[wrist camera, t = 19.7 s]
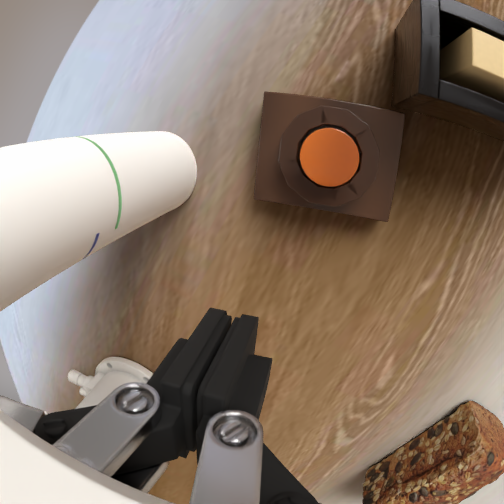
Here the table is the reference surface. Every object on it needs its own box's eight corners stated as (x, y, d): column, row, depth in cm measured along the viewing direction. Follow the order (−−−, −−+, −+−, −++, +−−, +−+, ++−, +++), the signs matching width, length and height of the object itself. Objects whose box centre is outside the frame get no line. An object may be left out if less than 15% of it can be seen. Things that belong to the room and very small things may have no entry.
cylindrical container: (115, 177, 28) (-140, 283, 5) (154, 115, 25) (-161, 158, 2) (166, 226, 28) (-82, 409, 5) (213, 166, 25) (-132, 322, 2)
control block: (259, 194, 25) (247, 204, 22) (269, 95, 22) (258, 87, 19) (383, 215, 23) (392, 229, 20) (398, 115, 20) (411, 111, 17)
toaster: (390, 106, 20) (418, 93, 13) (395, 27, 18) (419, -12, 11) (526, 150, 18) (580, 161, 11) (530, 78, 15) (581, 69, 8)
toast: (429, 85, 18) (472, 65, 11) (431, 56, 17) (471, 26, 10) (511, 116, 17) (569, 116, 10) (513, 88, 16) (569, 80, 9)
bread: (467, 392, 27) (489, 458, 18) (503, 416, 27) (523, 472, 18) (359, 467, 35) (356, 526, 26) (405, 483, 35) (407, 535, 26)
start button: (298, 178, 21) (296, 181, 19) (305, 125, 19) (303, 123, 18) (352, 187, 20) (354, 191, 18) (360, 133, 19) (362, 133, 17)
